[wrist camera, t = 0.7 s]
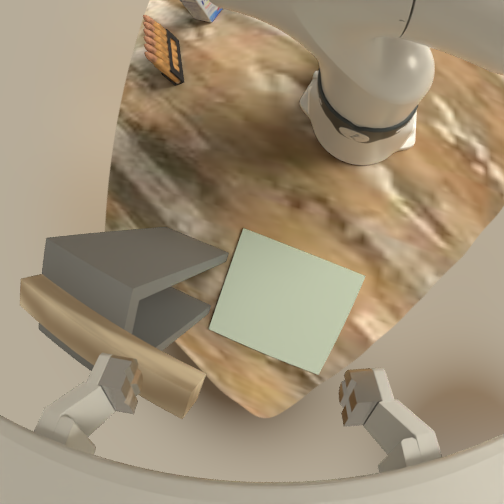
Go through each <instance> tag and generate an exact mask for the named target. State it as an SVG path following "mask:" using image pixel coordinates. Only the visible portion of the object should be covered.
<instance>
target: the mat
mask: <svg viewBox="0 0 504 504" xmlns="http://www.w3.org/2000/svg"><path fill="white" fill-rule="evenodd" d="M364 279H365V276H364V275H362V274H359V273H357V272H354V271H352V270H349V269H347V268H344V267H342V266H339V265H337V264H334V263H332V262H329V261H327V260H324V259H322V258H319V257H317V256H314V255H312V254H309V253H307V252H304V251H301V250H299V249H296V248H294V247H291V246H289V245H286V244H284V243H281V242H278V241H276V240H273V239H271V238H268V237H266V236H263V235H260V234H258V233H255V232H253V231H250V230H247V229H245V228H243V231H242V234H241V237H240V239H239V242H238V245H237V248H236V251H235V254H234V257H233V259H232V262H231V265H230V268H229V271H228V274H227V277H226V280H225V283H224V286H223V288H222V291H221V294H220V297H219V300H218V303H217V306H216V309H215V312H214V315H213V318H212V321H211V324H210V327H209V329H210V330H212V331H214V332H216V333H218V334H221V335H223V336H225V337H227V338H229V339H232V340H234V341H236V342H239V343H241V344H243V345H245V346H248V347H250V348H252V349H255V350H257V351H259V352H262V353H264V354H267V355H269V356H271V357H274V358H276V359H279V360H281V361H284V362H286V363H289V364H291V365H294V366H297V367H299V368H302V369H304V370H307V371H310V372H312V373H315V374H319V373H320V371H321V369H322V367H323V365H324V363H325V361H326V359H327V357H328V355H329V353H330V352H331V350H332V348H333V346H334V344H335V342H336V340H337V338H338V336H339V333H340V331H341V329H342V327H343V325H344V323H345V321H346V319H347V317H348V315H349V312H350V310H351V308H352V306H353V304H354V301H355V299H356V297H357V295H358V292H359V290H360V288H361V286H362V283H363V281H364Z"/></svg>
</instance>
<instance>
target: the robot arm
mask: <svg viewBox="0 0 504 504" xmlns="http://www.w3.org/2000/svg"><path fill="white" fill-rule="evenodd" d="M209 1H210V2H211V3H212V4H214V5H215V6H217V7H219V8H223V9H227V10H231V11H234V12H238V13H242V14H245V15H248V16H251V17H254V18H256V19H259V20H261V21H263V22H266V23H268V24H270V25H272V26H274V27H276V28H278V29H279V30H281V31H283V32H284V33H286V34H288V35H289V36H290V37H292V38H293V39H295V40H296V41H297V42H299V43H300V44H301V45H303V46H304V47H305V48H306V49H307V50H308V51H310V52H311V53H312V54H313V55H314V56H315V57H316V58H317V60H318V62H319V67H320V68H319V71H317V70H316V71H315V72H314V74H313V80H312V81H311V83H310V84H309V86H308V88H307V89H306V91H305V92H304V94H303V95H302V97H301V99H300V107H301V109H302V110H303V111H304V113H305V114H306V115H307V116H308V117H309V118H310V120H311V123H312V126H313V130H314V133H315V135H316V137H317V139H318V141H319V142H320V144H321V145H322V146H323V147H324V148H325V149H326V150H327V151H328V152H329V153H330V154H331V155H333V156H334V157H336V158H338V159H339V160H341V161H344V162H347V163H350V164H355V165H370V164H375V163H378V162H380V161H382V160H384V159H386V158H387V157H389V156H390V155H391V154H393V153H394V152H396V151H401V150H406V149H410V148H411V147H413V145H414V143H415V135H416V110H417V107H418V103H419V102H420V101H421V100H422V98H423V97H424V96H425V95H426V93H427V92H428V91H429V89H430V87H431V85H432V82H433V78H434V71H435V67H434V59H433V56H432V53H431V50H430V48H429V47H431V48H434V49H436V50H439V51H442V52H445V53H448V54H450V55H453V56H455V57H458V58H460V59H463V60H465V61H468V62H470V63H472V64H475V65H477V66H479V67H481V68H484V69H486V70H488V71H490V72H494V73H497V74H500V75H504V0H209ZM138 365H139V364H138V362H137V359H133V358H127V357H122V356H117V355H112V354H107V353H101V354H100V355H99V357H98V359H97V361H96V363H95V365H94V367H93V369H92V371H91V374H90V375H89V378H88V380H87V382H82V383H81V384H79V385H78V386H76V387H75V388H73V389H72V390H71V391H69V392H68V393H66V394H65V395H63V396H62V397H60V398H59V399H58V400H56V401H54V402H53V403H51V404H50V405H49V406H47V407H46V408H44V410H43V412H42V415H41V417H40V419H39V421H38V424H37V426H36V428H35V430H34V432H33V431H31V430H29V429H27V428H25V427H22V426H20V425H18V424H16V423H14V422H12V421H10V420H9V419H7V418H5V417H3V416H1V415H0V504H504V434H503V435H500V436H498V437H495V438H493V439H491V440H488V441H486V442H483V443H481V444H478V445H476V446H474V447H471V448H468V449H465V450H463V451H460V452H457V453H454V454H451V455H448V456H445V457H442V454H441V451H440V448H439V444H438V441H437V438H436V435H435V432H434V431H433V430H432V429H431V428H430V427H429V426H427V425H426V424H425V423H424V422H423V421H422V420H421V419H419V418H418V417H417V416H416V415H414V413H412V412H411V411H410V410H409V409H408V408H407V407H406V406H404V405H403V404H402V403H401V402H400V401H399V400H394V397H393V394H392V391H391V387H390V385H389V382H388V378H387V375H386V372H385V370H384V368H372V369H370V368H368V369H354V370H347V371H346V372H345V375H344V377H345V380H344V381H342V382H341V384H340V387H339V402H340V404H341V405H342V406H343V407H344V409H343V411H342V413H341V414H342V419H343V425H344V426H357V425H363V426H364V428H365V429H366V430H367V431H368V432H369V433H370V435H371V436H372V437H373V438H374V439H375V440H376V442H377V443H378V444H379V445H380V446H381V448H382V449H383V450H384V451H385V452H386V453H387V456H386V457H385V458H384V459H383V460H382V461H381V462H380V463H379V465H378V468H379V473H375V474H369V475H363V476H356V477H349V478H341V479H331V480H320V481H307V482H306V481H305V482H240V481H225V480H213V479H205V478H197V477H189V476H182V475H176V474H170V473H164V472H159V471H154V470H149V469H145V468H140V467H135V466H132V465H128V464H124V463H120V462H116V461H113V460H109V459H106V458H102V457H99V456H96V455H94V453H95V450H96V447H95V445H94V444H93V443H92V442H91V440H90V439H89V438H88V437H89V436H90V435H91V434H92V433H93V432H94V431H95V430H96V429H97V428H98V427H99V426H100V425H102V424H103V423H104V422H105V421H106V420H107V419H108V418H109V417H110V416H111V415H112V414H113V413H114V412H115V411H119V412H125V413H130V414H134V412H135V409H136V406H137V402H138V401H137V398H136V396H137V395H138V394H139V393H141V390H142V386H143V375H142V372H141V371H140V370H139V369H138Z"/></svg>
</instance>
